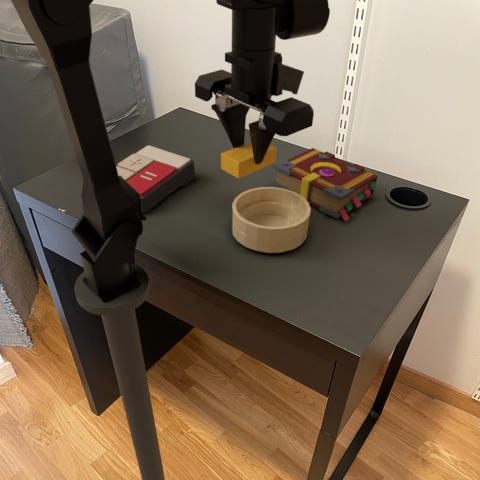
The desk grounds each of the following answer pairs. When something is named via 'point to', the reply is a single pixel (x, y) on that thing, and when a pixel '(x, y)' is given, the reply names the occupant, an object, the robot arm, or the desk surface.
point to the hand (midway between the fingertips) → (249, 158)
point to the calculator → (155, 174)
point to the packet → (245, 160)
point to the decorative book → (325, 181)
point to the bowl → (270, 219)
